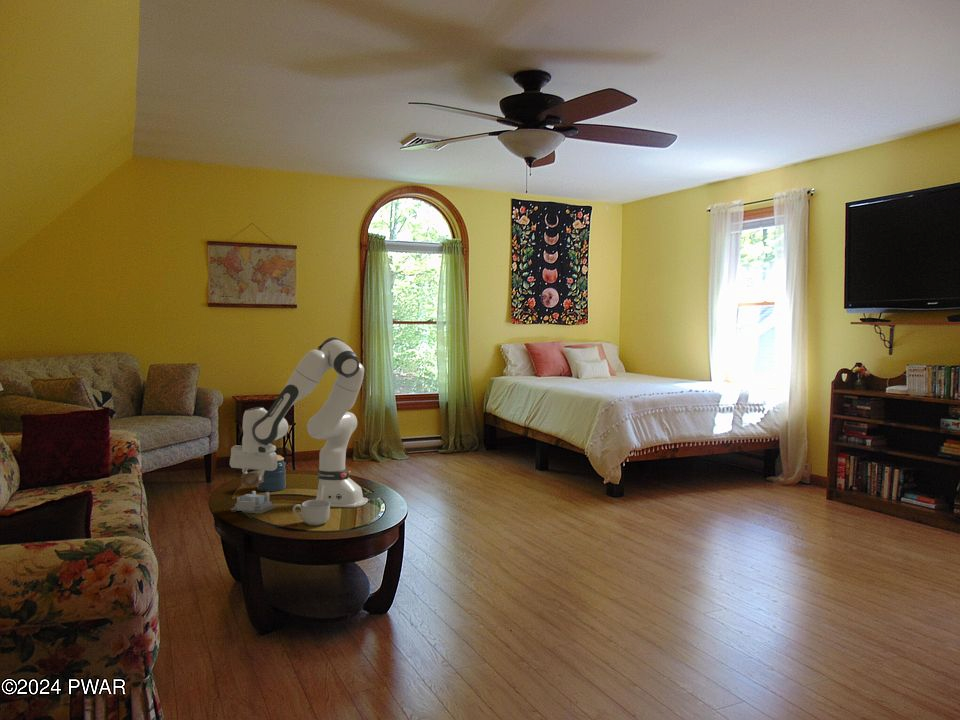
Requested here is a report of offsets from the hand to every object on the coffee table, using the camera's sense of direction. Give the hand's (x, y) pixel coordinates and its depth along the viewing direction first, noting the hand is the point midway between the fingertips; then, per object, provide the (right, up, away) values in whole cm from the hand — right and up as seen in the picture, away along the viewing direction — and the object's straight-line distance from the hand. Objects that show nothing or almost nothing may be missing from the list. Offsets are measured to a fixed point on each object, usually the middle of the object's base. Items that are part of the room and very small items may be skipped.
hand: (253, 479), depth 275 cm
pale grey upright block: (0, -11, +1) cm, 11 cm away
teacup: (+29, -14, -19) cm, 37 cm away
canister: (-4, -11, +38) cm, 39 cm away
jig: (0, -12, 0) cm, 12 cm away
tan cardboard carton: (0, -2, 0) cm, 2 cm away
